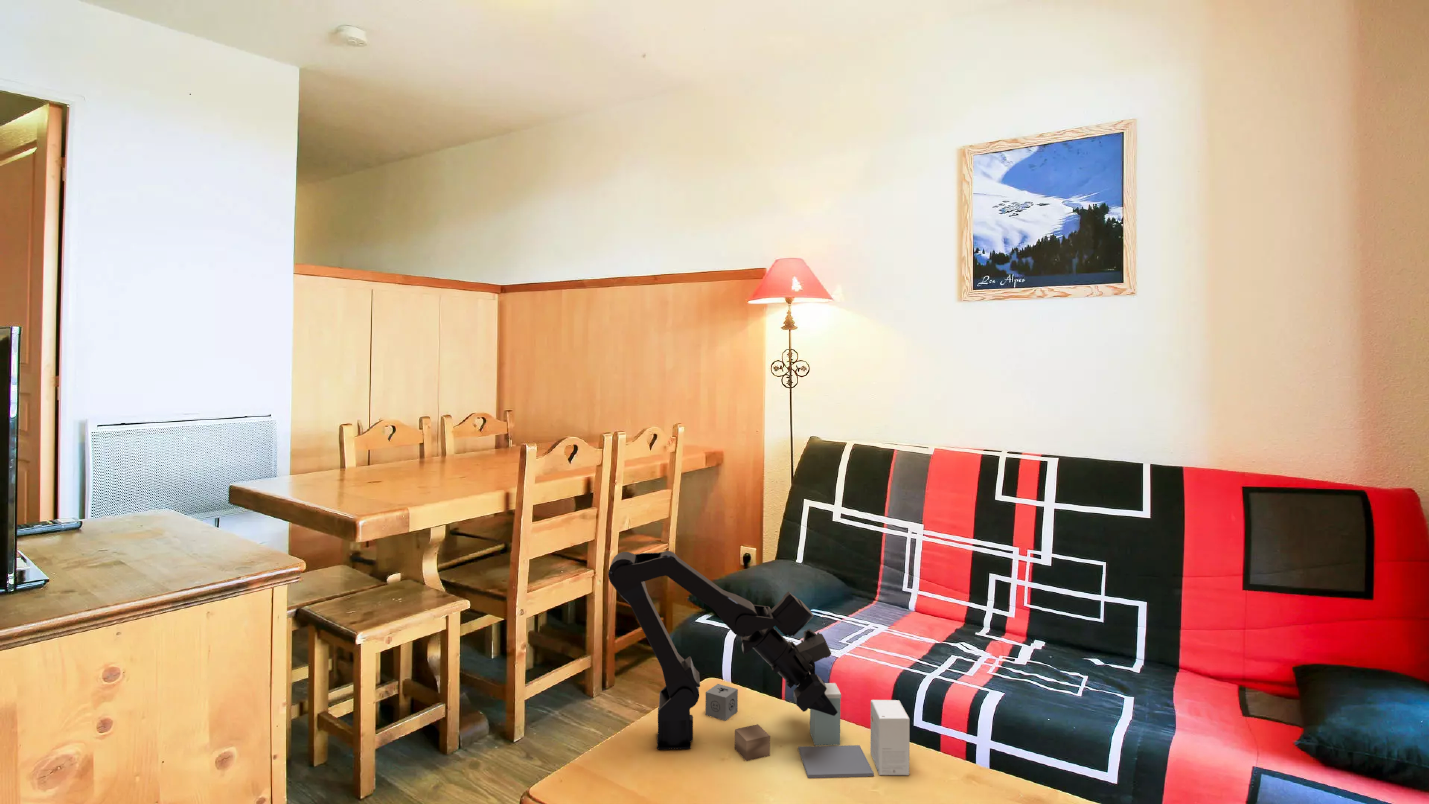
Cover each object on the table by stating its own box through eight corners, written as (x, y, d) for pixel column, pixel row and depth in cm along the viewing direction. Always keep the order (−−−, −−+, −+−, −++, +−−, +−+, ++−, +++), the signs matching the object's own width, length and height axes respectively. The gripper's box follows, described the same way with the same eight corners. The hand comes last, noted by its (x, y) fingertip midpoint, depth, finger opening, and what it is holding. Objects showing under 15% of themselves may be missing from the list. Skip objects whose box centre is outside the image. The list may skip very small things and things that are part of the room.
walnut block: (746, 762, 135) (746, 740, 135) (734, 749, 139) (734, 729, 139) (769, 756, 137) (770, 735, 137) (757, 744, 141) (757, 724, 141)
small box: (909, 776, 130) (910, 719, 130) (878, 776, 130) (879, 718, 130) (899, 753, 138) (900, 699, 138) (869, 753, 138) (870, 698, 138)
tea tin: (814, 745, 141) (814, 694, 140) (809, 732, 146) (809, 683, 145) (840, 745, 141) (841, 694, 141) (834, 732, 146) (835, 683, 146)
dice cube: (737, 712, 155) (737, 689, 155) (725, 721, 151) (725, 697, 150) (717, 706, 158) (717, 683, 157) (705, 715, 153) (705, 692, 153)
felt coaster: (807, 778, 129) (807, 774, 129) (798, 749, 139) (798, 746, 139) (873, 776, 130) (873, 773, 130) (859, 748, 140) (859, 745, 140)
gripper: (815, 639, 133) (873, 697, 134) (798, 607, 152) (849, 659, 153) (772, 682, 133) (831, 740, 134) (760, 645, 152) (812, 696, 152)
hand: (832, 705), depth 143 cm, fingers open, 7 cm apart
